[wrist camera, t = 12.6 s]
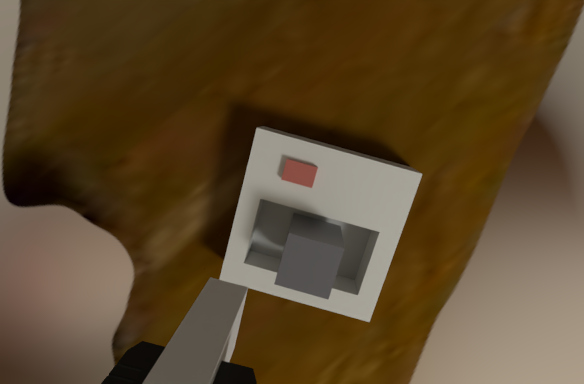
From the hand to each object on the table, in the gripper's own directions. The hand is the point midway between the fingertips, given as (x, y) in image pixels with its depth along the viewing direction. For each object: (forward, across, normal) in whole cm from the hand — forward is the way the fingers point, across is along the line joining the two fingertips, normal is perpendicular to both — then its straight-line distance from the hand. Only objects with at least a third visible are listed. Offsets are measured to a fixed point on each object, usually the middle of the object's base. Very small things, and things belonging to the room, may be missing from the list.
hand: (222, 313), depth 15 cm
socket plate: (+26, +4, -3) cm, 27 cm away
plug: (+26, +4, -6) cm, 26 cm away
